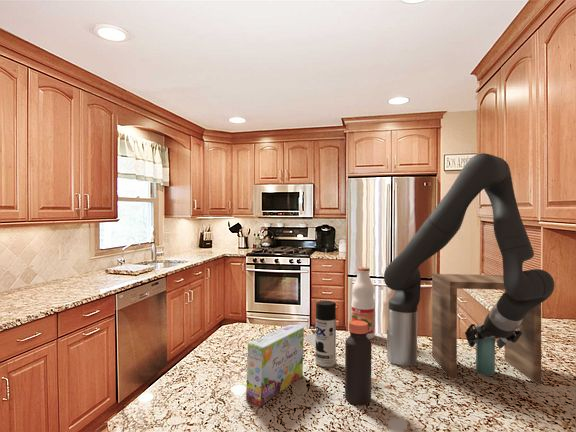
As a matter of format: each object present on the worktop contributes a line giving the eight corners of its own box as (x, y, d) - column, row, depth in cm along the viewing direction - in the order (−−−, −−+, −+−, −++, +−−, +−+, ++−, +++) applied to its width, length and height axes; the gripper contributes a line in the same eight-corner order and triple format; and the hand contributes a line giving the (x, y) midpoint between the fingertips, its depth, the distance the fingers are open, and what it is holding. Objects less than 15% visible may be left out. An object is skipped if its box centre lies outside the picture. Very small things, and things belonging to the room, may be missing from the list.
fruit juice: (379, 336, 141) (379, 267, 142) (366, 341, 135) (366, 270, 135) (360, 331, 148) (360, 265, 149) (346, 335, 142) (347, 267, 142)
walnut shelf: (449, 378, 104) (450, 281, 104) (432, 357, 120) (432, 273, 120) (541, 382, 102) (541, 283, 102) (510, 360, 118) (510, 275, 118)
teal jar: (480, 375, 106) (480, 329, 107) (472, 367, 112) (473, 324, 112) (498, 375, 106) (498, 330, 106) (489, 368, 111) (490, 325, 111)
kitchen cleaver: (295, 327, 150) (317, 325, 152) (295, 330, 150) (318, 327, 152) (309, 348, 126) (335, 346, 128) (309, 351, 126) (335, 348, 128)
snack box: (262, 407, 87) (263, 347, 87) (245, 401, 90) (245, 343, 90) (304, 376, 105) (304, 326, 105) (288, 371, 108) (288, 323, 108)
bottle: (354, 407, 87) (355, 328, 87) (340, 395, 93) (340, 320, 93) (376, 402, 90) (377, 325, 90) (361, 390, 96) (361, 318, 96)
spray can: (311, 363, 114) (311, 302, 114) (323, 357, 119) (324, 299, 119) (327, 369, 109) (328, 306, 109) (339, 363, 114) (340, 302, 114)
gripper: (524, 307, 100) (503, 334, 111) (473, 305, 101) (457, 332, 113) (536, 331, 95) (513, 357, 106) (482, 329, 96) (464, 355, 107)
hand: (484, 344), depth 109 cm, fingers open, 8 cm apart
